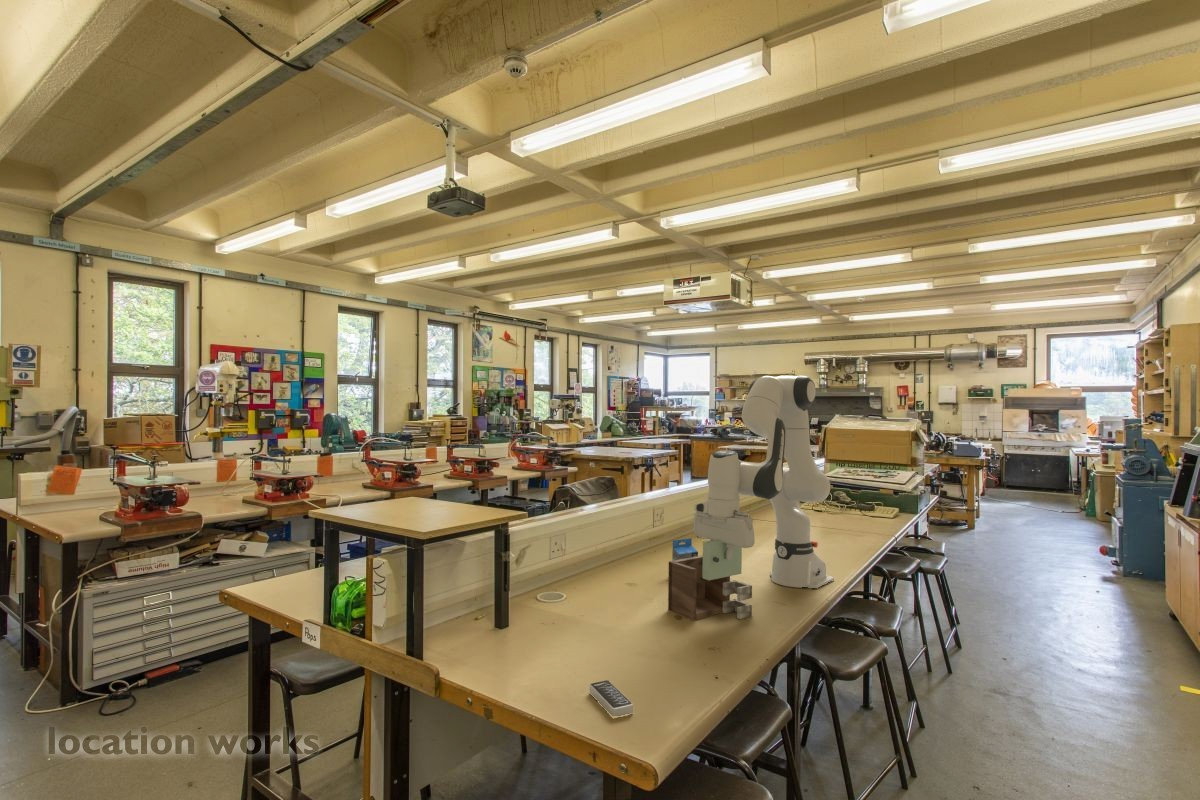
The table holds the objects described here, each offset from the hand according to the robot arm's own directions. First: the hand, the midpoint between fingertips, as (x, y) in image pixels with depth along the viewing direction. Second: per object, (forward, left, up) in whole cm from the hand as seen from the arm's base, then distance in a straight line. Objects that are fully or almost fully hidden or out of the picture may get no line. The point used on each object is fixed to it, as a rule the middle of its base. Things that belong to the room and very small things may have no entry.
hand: (722, 557), depth 160 cm
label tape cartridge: (-21, -37, -17) cm, 46 cm away
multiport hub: (+54, +21, -18) cm, 60 cm away
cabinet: (0, -5, -17) cm, 18 cm away
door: (0, 0, -5) cm, 5 cm away
